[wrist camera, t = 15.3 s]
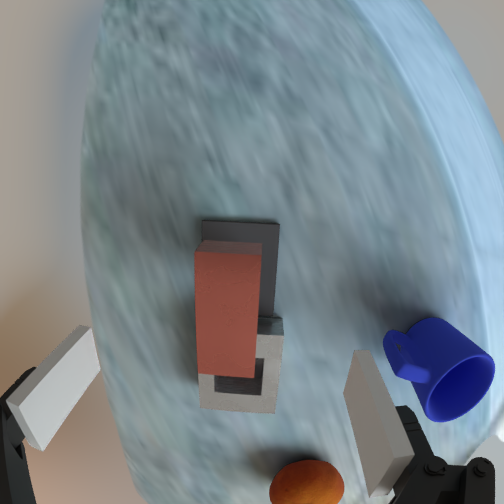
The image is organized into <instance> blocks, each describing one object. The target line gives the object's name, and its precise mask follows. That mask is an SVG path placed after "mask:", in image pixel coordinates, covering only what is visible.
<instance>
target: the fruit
mask: <svg viewBox="0 0 504 504" xmlns="http://www.w3.org/2000/svg"><path fill="white" fill-rule="evenodd" d="M343 493H344V482H343V479H342V477H341V475H340V473H339V472H338V471H337V469H336V468H335V467H334V466H333V465H331V464H330V463H328V462H325V461H319V460H302V461H298V462H294V463H291V464H288V465H286V466H285V467H284V468H282V469H281V470H280V471H279V472H278V473H277V475H276V476H275V477H274V479H273V481H272V483H271V486H270V490H269V495H270V501H271V502H272V504H337V503H338V502H339V501H340V499H341V498H342V496H343Z"/></svg>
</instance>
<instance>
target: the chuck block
mask: <svg viewBox="0 0 504 504" xmlns="http://www.w3.org/2000/svg"><path fill="white" fill-rule="evenodd" d="M283 341H284V330H283V319H282V318H263V317H258V324H257V340H256V356H255V372H254V378H245V377H232V376H220V375H209V374H199V373H198V380H199V397H200V408H206V409H215V410H225V411H237V412H251V413H271V414H275V408H276V400H277V392H278V384H279V376H280V367H281V359H282V350H283Z"/></svg>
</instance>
